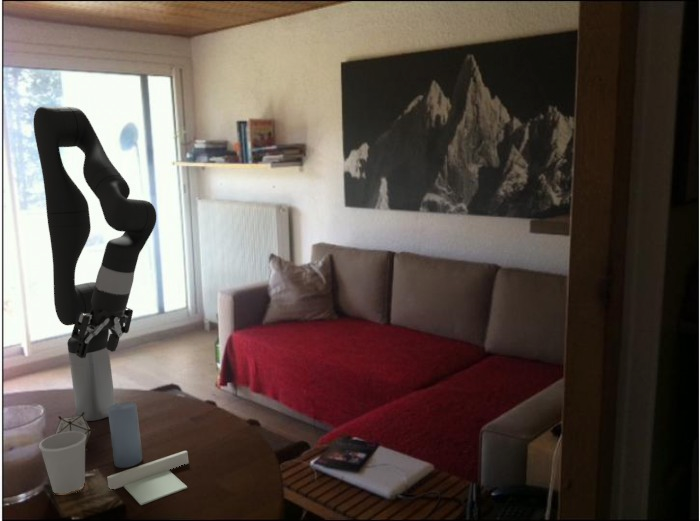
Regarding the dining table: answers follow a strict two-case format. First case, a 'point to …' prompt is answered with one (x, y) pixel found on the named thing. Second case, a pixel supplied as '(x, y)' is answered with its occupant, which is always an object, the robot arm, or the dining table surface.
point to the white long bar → (147, 470)
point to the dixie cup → (65, 460)
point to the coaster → (155, 487)
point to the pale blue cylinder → (125, 434)
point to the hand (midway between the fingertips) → (95, 353)
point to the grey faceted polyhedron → (74, 426)
